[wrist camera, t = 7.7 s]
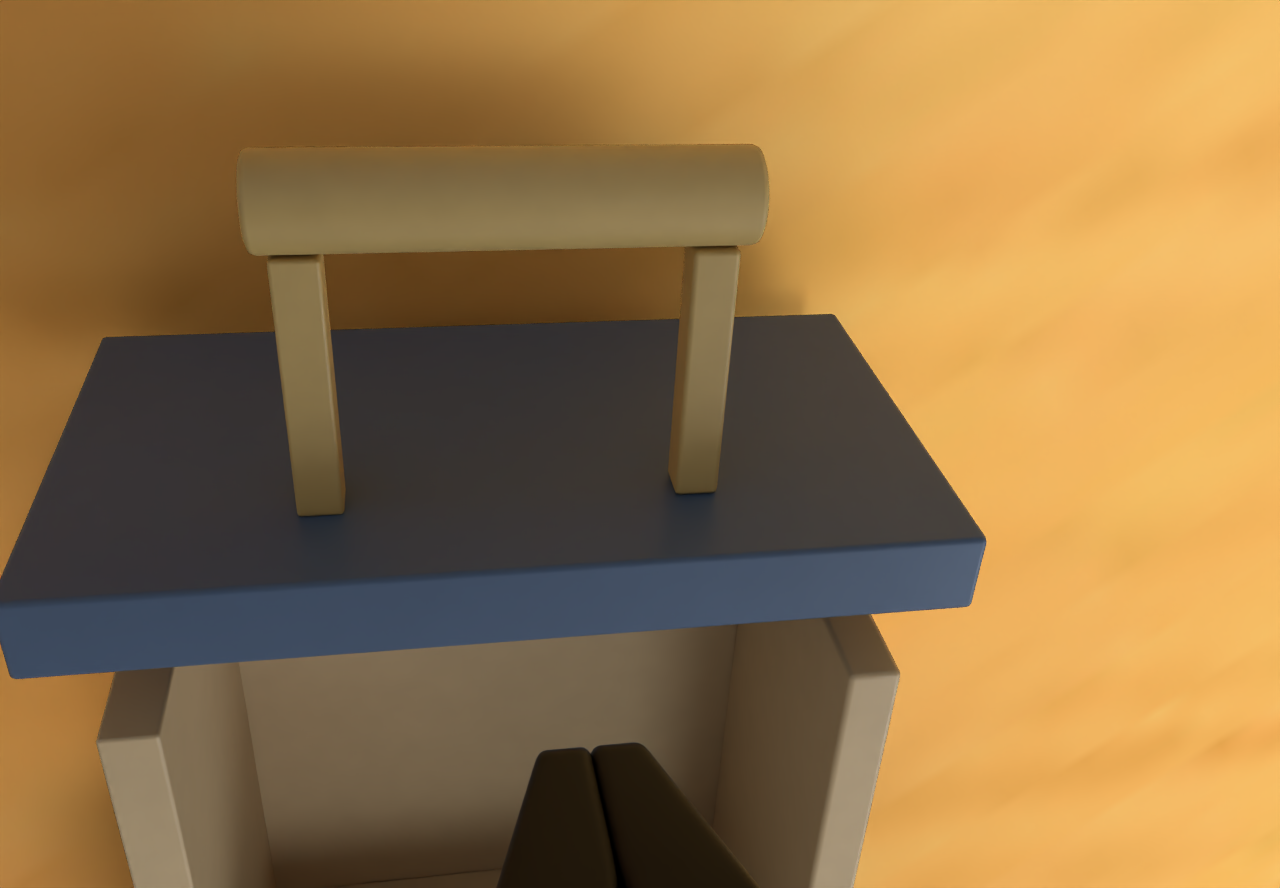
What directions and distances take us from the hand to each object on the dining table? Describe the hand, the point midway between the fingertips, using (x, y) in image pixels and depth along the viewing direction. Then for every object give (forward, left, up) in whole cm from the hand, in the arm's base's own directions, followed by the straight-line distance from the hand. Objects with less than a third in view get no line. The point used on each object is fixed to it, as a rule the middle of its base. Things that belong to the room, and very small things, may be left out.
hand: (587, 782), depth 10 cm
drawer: (-6, -2, -12) cm, 14 cm away
